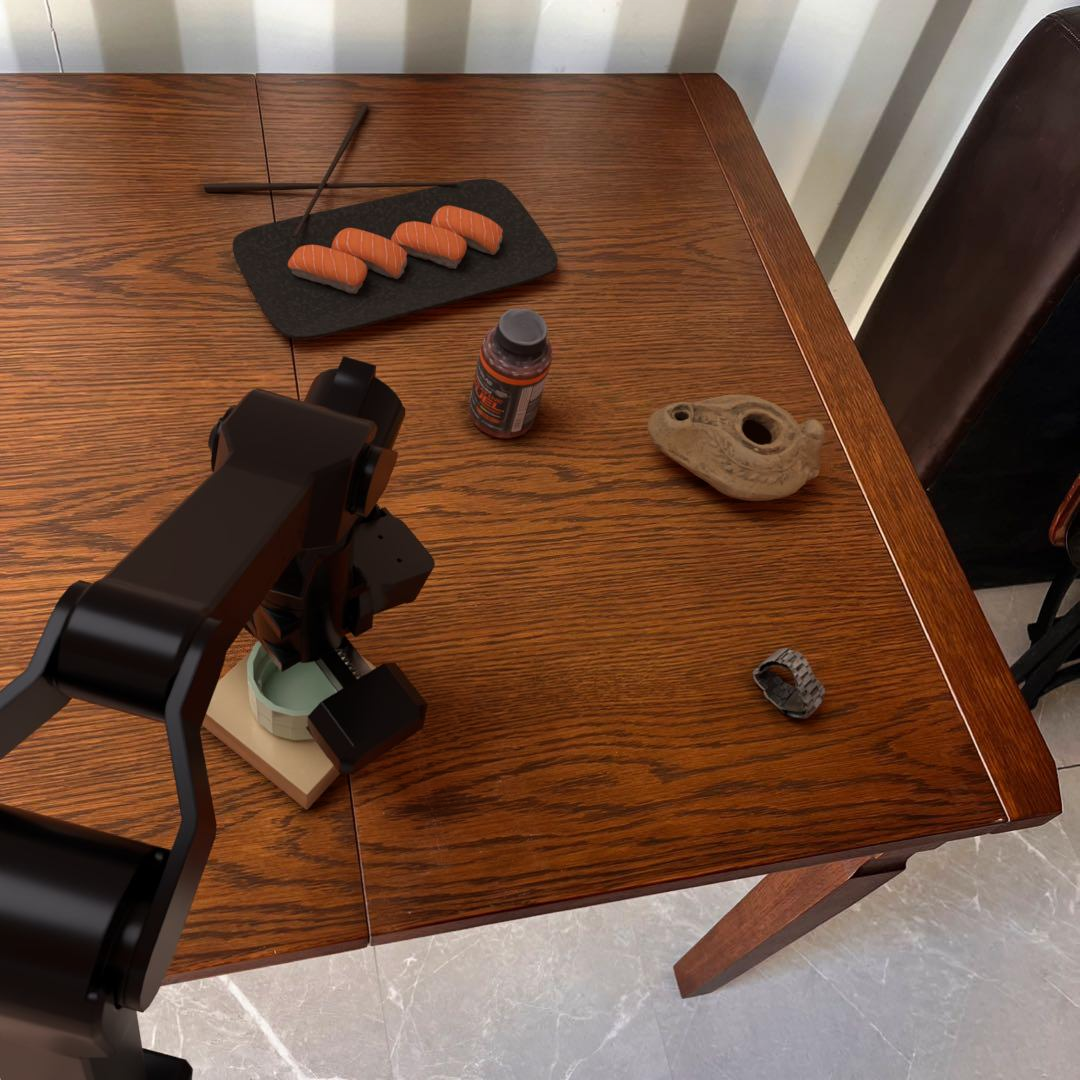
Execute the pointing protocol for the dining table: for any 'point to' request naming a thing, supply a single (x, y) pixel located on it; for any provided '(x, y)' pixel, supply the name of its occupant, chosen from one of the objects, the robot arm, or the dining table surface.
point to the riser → (267, 741)
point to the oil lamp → (740, 445)
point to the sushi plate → (387, 252)
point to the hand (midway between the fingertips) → (301, 686)
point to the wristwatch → (784, 695)
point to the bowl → (285, 693)
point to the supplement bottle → (511, 374)
